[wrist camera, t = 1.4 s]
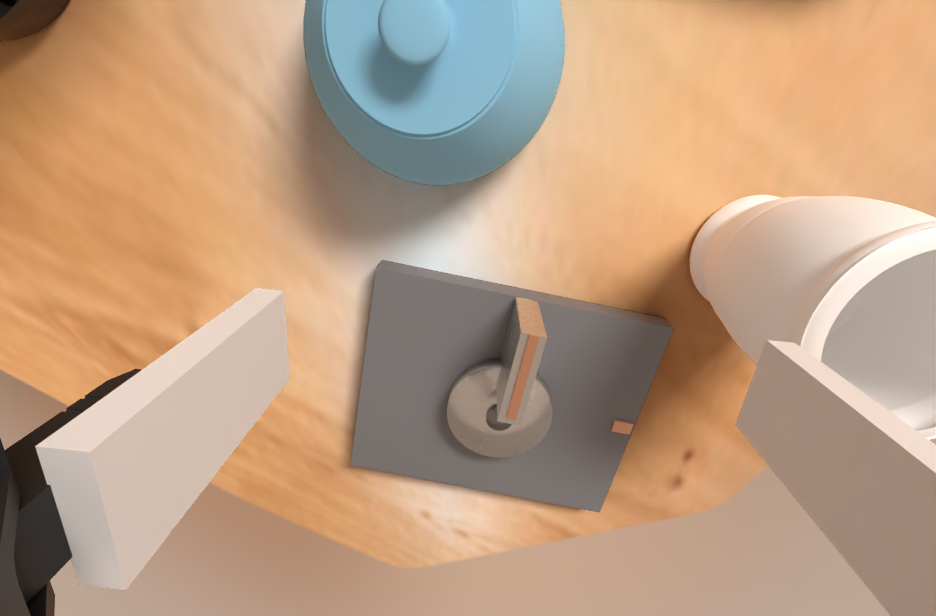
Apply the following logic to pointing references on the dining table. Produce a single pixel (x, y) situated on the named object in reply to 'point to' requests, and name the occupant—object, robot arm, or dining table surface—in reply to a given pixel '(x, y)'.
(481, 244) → the dining table surface
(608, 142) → the dining table surface
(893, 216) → the jar
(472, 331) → the board
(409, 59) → the sugar bowl
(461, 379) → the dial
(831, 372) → the robot arm
